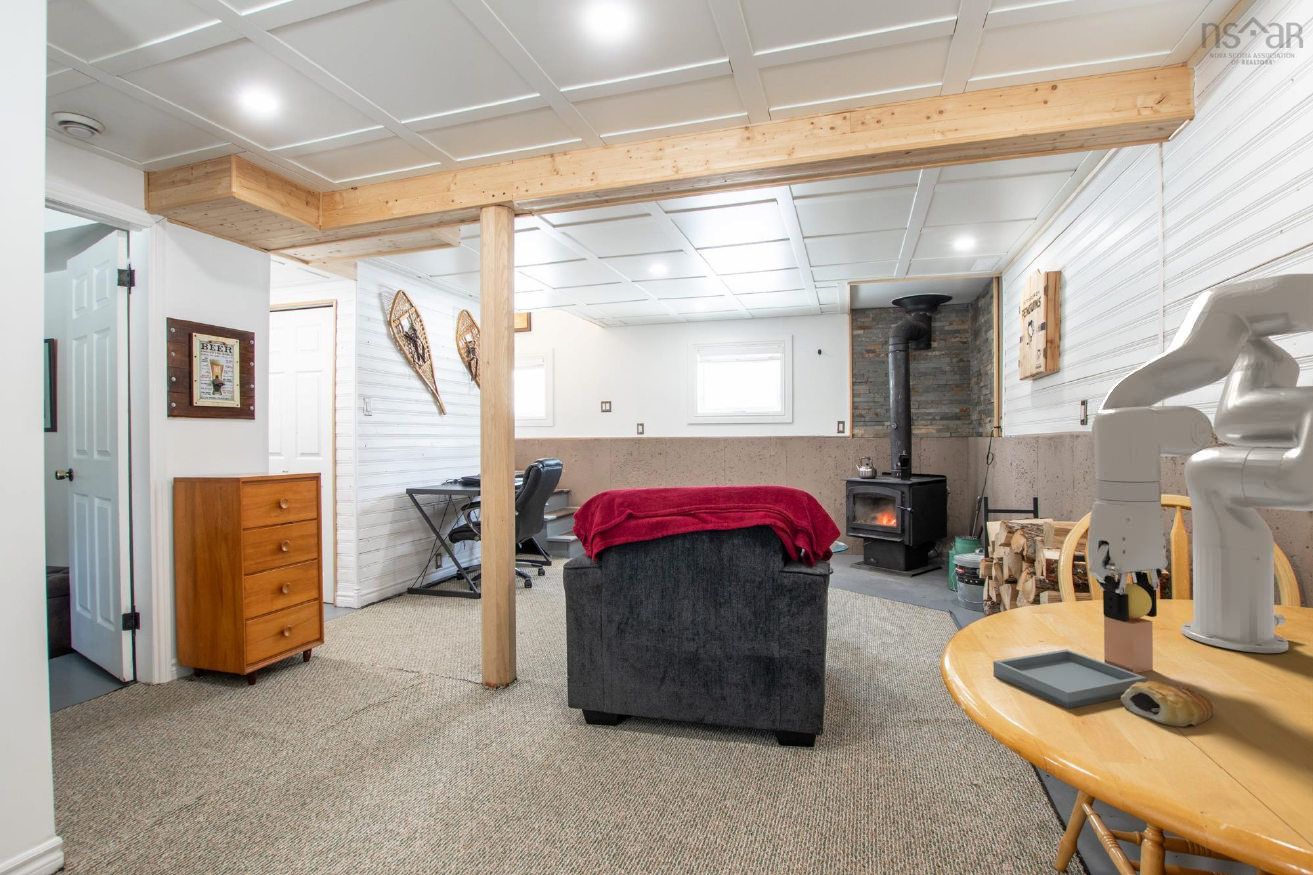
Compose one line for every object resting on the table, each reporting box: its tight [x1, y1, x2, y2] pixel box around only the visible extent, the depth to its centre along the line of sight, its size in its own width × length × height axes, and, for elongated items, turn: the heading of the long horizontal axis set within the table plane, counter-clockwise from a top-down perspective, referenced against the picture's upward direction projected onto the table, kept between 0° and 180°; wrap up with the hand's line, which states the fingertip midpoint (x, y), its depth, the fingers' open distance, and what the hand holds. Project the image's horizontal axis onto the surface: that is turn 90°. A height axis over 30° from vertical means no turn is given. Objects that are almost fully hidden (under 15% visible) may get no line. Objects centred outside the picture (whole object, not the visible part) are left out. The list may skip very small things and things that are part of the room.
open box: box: [1103, 615, 1154, 674], centre depth 88 cm, size 4×4×7 cm
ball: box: [1124, 582, 1152, 619], centre depth 88 cm, size 5×5×5 cm
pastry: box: [1120, 680, 1214, 728], centre depth 73 cm, size 9×7×4 cm
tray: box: [992, 649, 1148, 710], centre depth 82 cm, size 14×11×2 cm
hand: (1129, 615), depth 88 cm, fingers closed on ball, 4 cm apart
